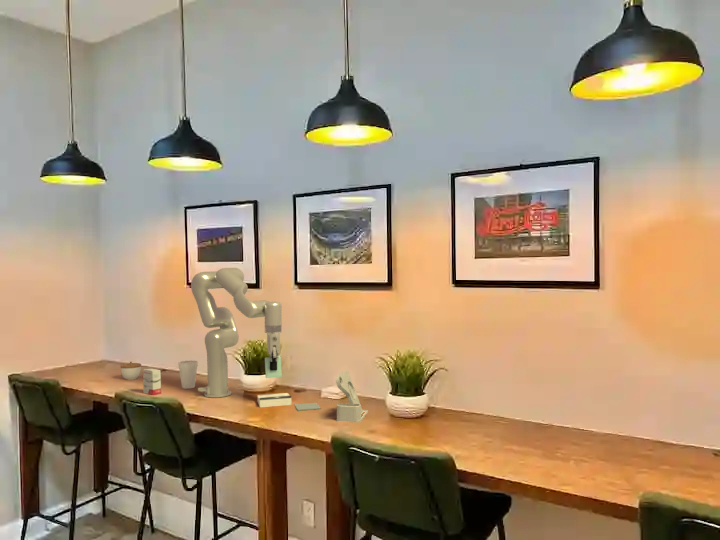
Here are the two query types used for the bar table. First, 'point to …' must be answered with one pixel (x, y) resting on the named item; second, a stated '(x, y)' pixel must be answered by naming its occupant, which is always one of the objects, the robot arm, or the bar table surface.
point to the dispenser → (274, 400)
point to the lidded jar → (131, 370)
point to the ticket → (274, 372)
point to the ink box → (152, 381)
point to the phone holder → (352, 409)
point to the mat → (307, 406)
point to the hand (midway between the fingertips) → (273, 369)
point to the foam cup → (188, 373)
